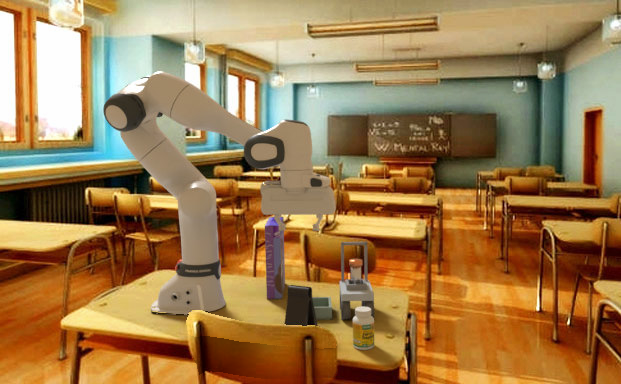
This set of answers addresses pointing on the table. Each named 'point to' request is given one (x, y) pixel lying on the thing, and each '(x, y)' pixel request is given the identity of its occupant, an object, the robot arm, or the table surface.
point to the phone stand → (300, 306)
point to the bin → (322, 307)
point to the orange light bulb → (355, 270)
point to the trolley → (355, 287)
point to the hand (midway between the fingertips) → (299, 230)
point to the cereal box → (274, 259)
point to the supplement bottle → (363, 329)
